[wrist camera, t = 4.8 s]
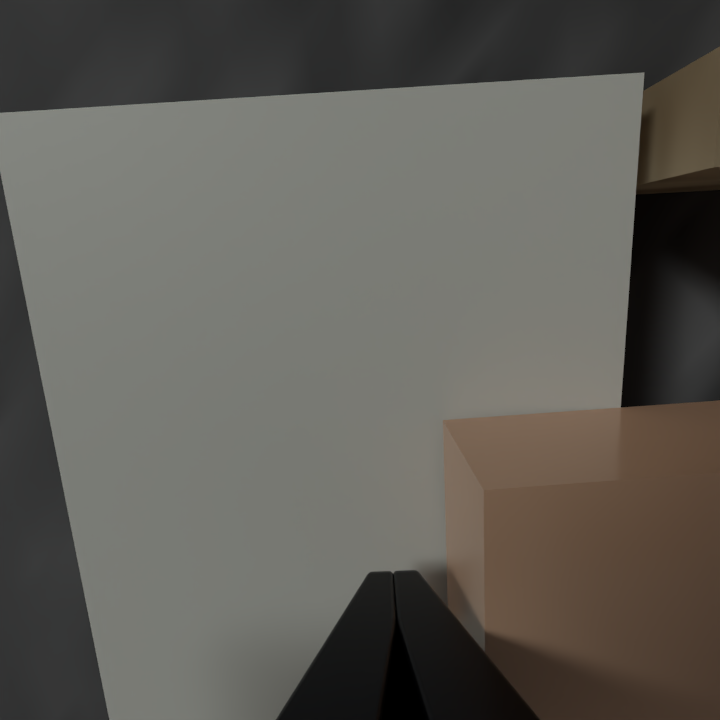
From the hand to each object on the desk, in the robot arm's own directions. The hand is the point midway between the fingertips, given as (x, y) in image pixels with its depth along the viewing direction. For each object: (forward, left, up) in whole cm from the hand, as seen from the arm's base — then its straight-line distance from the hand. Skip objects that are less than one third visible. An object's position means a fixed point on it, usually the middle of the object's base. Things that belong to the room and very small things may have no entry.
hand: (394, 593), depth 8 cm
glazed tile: (0, -4, -1) cm, 4 cm away
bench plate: (0, +1, -4) cm, 4 cm away
